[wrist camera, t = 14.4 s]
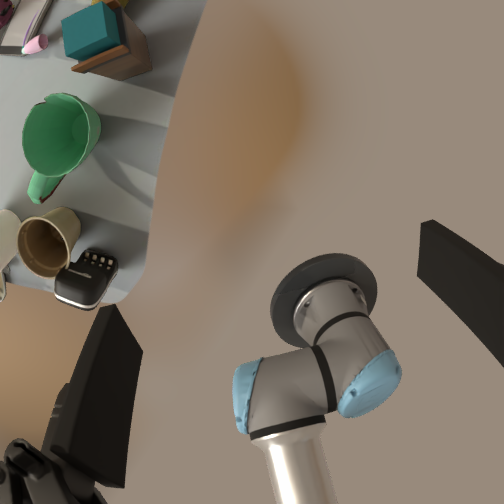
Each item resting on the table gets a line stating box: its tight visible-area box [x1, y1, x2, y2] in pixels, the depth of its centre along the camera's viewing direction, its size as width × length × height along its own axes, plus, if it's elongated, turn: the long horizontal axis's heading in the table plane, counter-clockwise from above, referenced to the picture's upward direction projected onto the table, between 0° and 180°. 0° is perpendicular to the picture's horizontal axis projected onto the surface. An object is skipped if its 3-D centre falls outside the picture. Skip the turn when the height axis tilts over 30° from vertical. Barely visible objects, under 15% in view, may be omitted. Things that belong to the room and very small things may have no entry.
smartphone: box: [0, 0, 53, 56], centre depth 20 cm, size 7×1×15 cm
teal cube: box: [61, 1, 121, 61], centre depth 16 cm, size 4×4×4 cm
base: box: [71, 0, 132, 74], centre depth 18 cm, size 6×5×3 cm
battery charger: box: [54, 249, 118, 311], centre depth 37 cm, size 7×4×11 cm, turn 70°
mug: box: [22, 93, 101, 204], centre depth 29 cm, size 15×10×10 cm
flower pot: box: [16, 207, 81, 279], centre depth 35 cm, size 9×9×9 cm
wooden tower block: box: [89, 12, 152, 81], centre depth 24 cm, size 6×5×12 cm
